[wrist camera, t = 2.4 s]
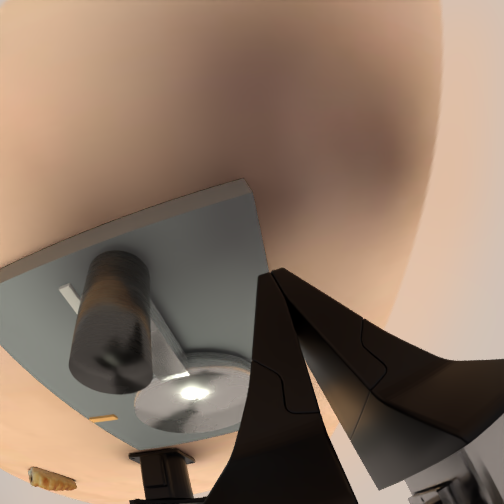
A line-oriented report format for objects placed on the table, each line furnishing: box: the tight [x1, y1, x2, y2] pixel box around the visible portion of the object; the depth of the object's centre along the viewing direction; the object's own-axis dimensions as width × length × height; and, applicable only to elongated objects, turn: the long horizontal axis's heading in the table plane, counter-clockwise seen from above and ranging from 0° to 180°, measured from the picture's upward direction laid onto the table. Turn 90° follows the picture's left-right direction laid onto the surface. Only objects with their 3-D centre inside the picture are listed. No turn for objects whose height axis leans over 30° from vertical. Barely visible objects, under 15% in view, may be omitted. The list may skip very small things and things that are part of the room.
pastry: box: [28, 467, 77, 491], centre depth 30 cm, size 9×7×4 cm
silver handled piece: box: [69, 250, 251, 433], centre depth 13 cm, size 15×8×5 cm, turn 11°
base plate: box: [0, 178, 269, 450], centre depth 17 cm, size 22×16×2 cm
